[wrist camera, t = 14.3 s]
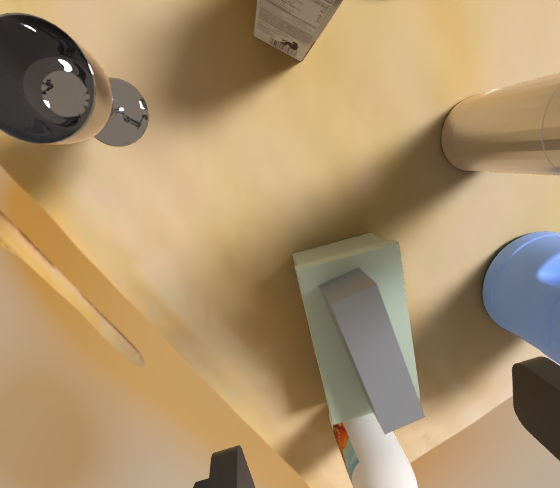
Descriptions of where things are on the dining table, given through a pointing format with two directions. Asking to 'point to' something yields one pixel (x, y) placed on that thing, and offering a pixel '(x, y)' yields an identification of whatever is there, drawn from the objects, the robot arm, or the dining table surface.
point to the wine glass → (61, 89)
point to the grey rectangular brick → (372, 348)
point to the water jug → (527, 290)
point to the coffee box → (293, 23)
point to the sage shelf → (326, 340)
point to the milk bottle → (372, 455)
